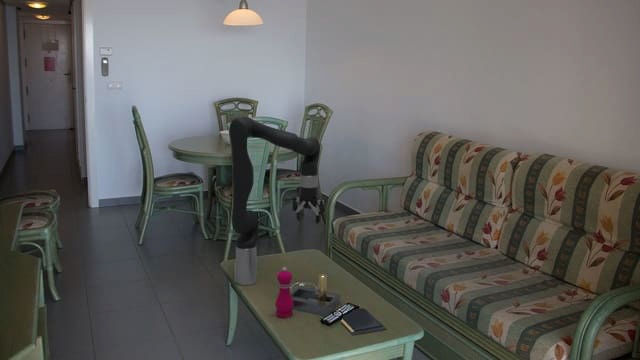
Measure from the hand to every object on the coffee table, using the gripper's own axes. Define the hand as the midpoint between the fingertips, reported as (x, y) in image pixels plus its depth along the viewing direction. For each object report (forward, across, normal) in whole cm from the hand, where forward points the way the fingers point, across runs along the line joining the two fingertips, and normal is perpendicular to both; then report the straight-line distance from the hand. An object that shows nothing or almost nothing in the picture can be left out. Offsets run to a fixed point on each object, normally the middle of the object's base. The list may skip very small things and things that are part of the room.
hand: (308, 221), depth 241 cm
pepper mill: (+32, +1, -24) cm, 40 cm away
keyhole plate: (+32, +8, -11) cm, 35 cm away
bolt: (+32, +12, -11) cm, 36 cm away
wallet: (+33, +30, -17) cm, 48 cm away
